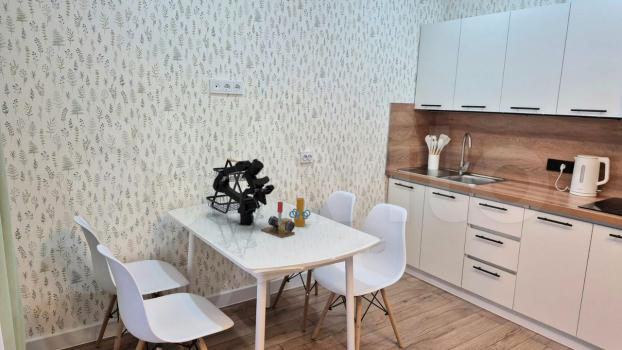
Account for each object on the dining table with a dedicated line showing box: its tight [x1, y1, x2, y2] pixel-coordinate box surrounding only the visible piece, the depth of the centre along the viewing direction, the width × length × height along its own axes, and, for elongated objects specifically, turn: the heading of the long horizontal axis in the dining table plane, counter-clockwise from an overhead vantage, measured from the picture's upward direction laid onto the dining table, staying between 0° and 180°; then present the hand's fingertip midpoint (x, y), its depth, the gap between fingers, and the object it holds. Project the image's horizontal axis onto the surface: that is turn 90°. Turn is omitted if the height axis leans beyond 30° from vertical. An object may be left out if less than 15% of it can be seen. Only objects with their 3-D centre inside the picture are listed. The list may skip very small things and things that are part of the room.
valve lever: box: [277, 201, 284, 226], centre depth 217 cm, size 2×2×12 cm
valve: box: [260, 215, 296, 239], centre depth 221 cm, size 16×9×7 cm, turn 48°
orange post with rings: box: [288, 197, 311, 228], centre depth 235 cm, size 12×10×15 cm
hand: (265, 204), depth 223 cm, fingers closed
